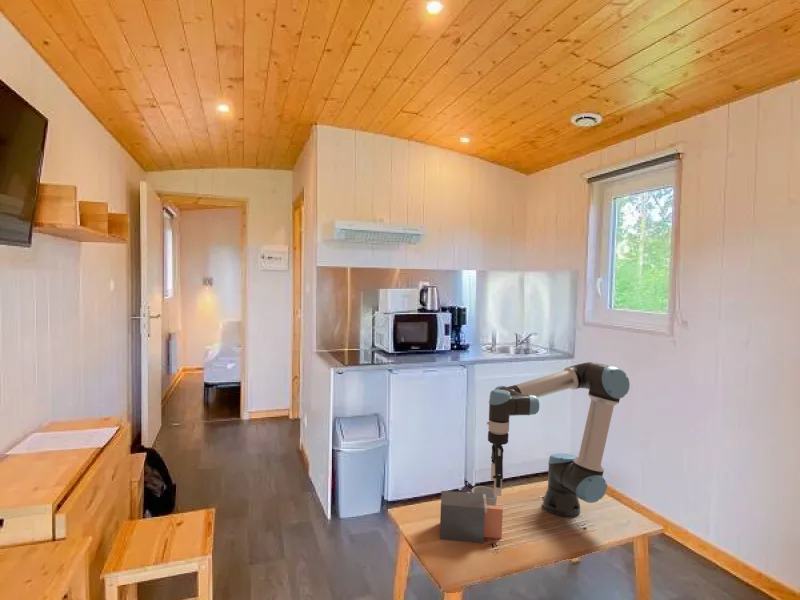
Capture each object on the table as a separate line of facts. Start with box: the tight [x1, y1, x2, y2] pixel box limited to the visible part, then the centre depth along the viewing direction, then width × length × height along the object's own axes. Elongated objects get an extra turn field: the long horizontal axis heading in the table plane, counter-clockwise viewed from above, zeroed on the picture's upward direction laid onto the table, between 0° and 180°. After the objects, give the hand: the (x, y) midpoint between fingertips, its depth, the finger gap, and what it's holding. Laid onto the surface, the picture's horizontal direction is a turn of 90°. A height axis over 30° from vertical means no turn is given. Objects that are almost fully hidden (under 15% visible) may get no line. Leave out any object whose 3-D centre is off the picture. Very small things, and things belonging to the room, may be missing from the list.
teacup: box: [465, 485, 498, 506], centre depth 195 cm, size 14×11×8 cm
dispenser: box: [439, 490, 487, 544], centre depth 176 cm, size 17×12×13 cm
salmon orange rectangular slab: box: [484, 505, 504, 539], centre depth 175 cm, size 12×2×11 cm, turn 83°
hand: (495, 487), depth 174 cm, fingers open, 13 cm apart
